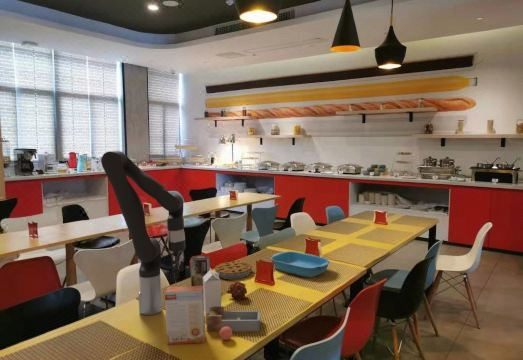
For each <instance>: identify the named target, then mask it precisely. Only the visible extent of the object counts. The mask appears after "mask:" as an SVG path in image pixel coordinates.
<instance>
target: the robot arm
mask: <svg viewBox="0 0 523 360" xmlns="http://www.w3.org/2000/svg"><path fill="white" fill-rule="evenodd" d="M100 162H101V167H102V169H103V171H104V172H105V175H106V177H107V178H108V180H109V183H110V185H111V187H112V190H113V193H114V195H115V198H116V200H117V204H118V207H119V209H120V212H121V215H122V216H123V219H124V222H125V224H126V227H127V229H128V233H130V238H131V240H132V245H133V248H134V252H135V255H136V257H137V259H138V260H139V261H140V265H139V268H138V269H139V270H138V278H139V280H138V281H139V292H138V311H139V314H140V315H146V316H152V315H153V316H154V315H157V314H158V313H161V311H162V310H163V308H162V307H163V306H162V305H163V303H162V284H161V283H162V282H161V280H162V279H161V278H162V277H161V268H162V247H161V244H160V241H158V239H156V238H153V237H150V236H149V233H148V231H147V230H148V229H147V226H146V216H145V215H146V213H145V209H144V206H143V203H142V201H141V199H140V196H139V194H138V193H137V191H136V189H135V188H134V187H133V185H132V184H131V183H130V181H129V180H128V178H129V179H131V181H133V182H134V183H135V184H136V186H137V187H139V189H140V190H142V191H143V192H144V193H146V194H147V195H148V196H149V197H151V198H152V199H153V200H156V202H157V203H158V205H160V207H162V208H163V209H164V210H166V211H168V216H167V218H166V220H167V221H166V225H167V227H166V228H167V245H168V246H167V247H168V250H169V252H172V255H171V256H170V261H171V270H172V271H173V277H174V279H179V278H180V272H184V270H185V269H184V261H185V252H184V251H185V249H186V234H185V230H184V217H183V216H184V200H183V197H182V196H181V195H179V194H177V193H176V194H175V193H174V194H172V193H170V192H169V191H168V190H167V188H166V187H165V186H164V185H163V184H162V183H160V182H159V181H157V180H156V179H154V178H153V177H152V176H151V175H149V174H148V173H146V172H145V171H143V169H142V168H140V166H138V165H136V164H135V163H134V162H133V160H131V159H130V158H129V157H128V156H127V155H126V154H125V153H124V152H122V151H121V150H108V151H106V152H104V153H103V154H102V156H101V161H100ZM127 177H128V178H127Z"/></svg>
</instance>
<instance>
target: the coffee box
mask: <svg viewBox="0 0 523 360" xmlns="http://www.w3.org/2000/svg"><path fill="white" fill-rule="evenodd" d="M210 261H211V259H210V256H208V255H207V256H204V255H203V256H199V255H198V256H197V255H196V256H192V257H191V258H190V260H189V264H190V281H191V283H190V284H191V285H190V286H203V276H204V275H206V274H207V273H208V272H209V271H210V268H211V265H210V264H211V263H210Z"/></svg>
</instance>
